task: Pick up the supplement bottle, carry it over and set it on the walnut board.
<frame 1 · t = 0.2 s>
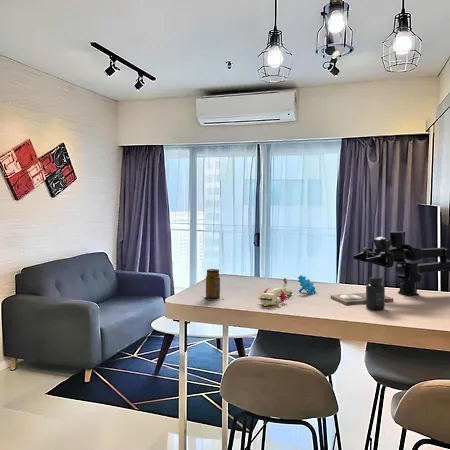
hand: (359, 258, 184), 17 cm above the table, tool horizontal, fingers open, 9 cm apart
blue piece: (307, 293, 196), on the table
cat figure: (275, 301, 181), on the table
supplement bottle: (374, 309, 168), on the table
walnut board: (361, 299, 182), on the table
condiment: (213, 298, 185), on the table
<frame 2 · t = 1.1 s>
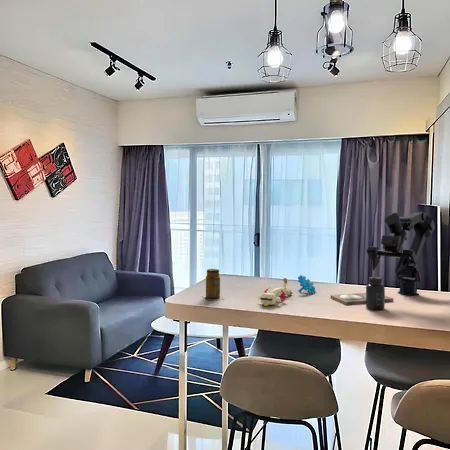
hand: (384, 271, 173), 14 cm above the table, tool tilted 45°, fingers open, 9 cm apart
nothing on the table moved.
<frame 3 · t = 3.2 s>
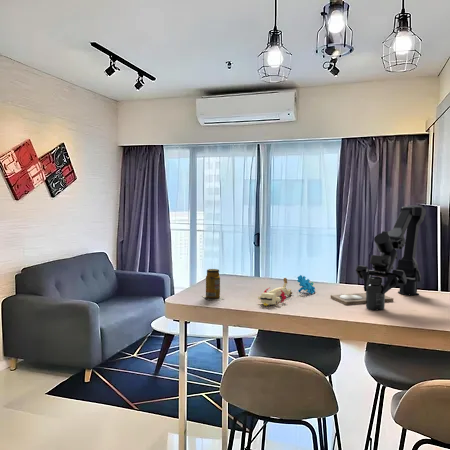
hand: (373, 292, 167), 7 cm above the table, tool tilted 45°, fingers closed on supplement bottle, 7 cm apart
supplement bottle: (374, 309, 168), on the table, touching gripper
everything else where it was.
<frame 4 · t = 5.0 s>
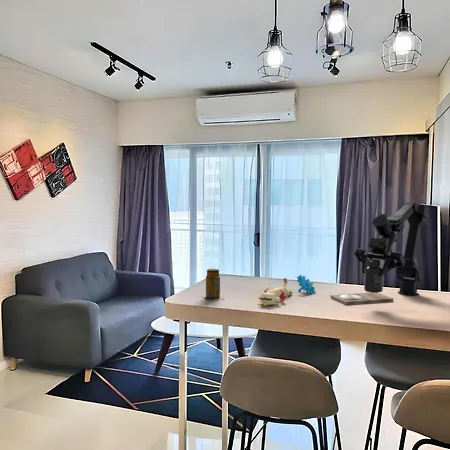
hand: (371, 274, 167), 13 cm above the table, tool tilted 45°, fingers closed on supplement bottle, 7 cm apart
supplement bottle: (373, 291, 169), point 6 cm above the table, touching gripper
everything else where it was.
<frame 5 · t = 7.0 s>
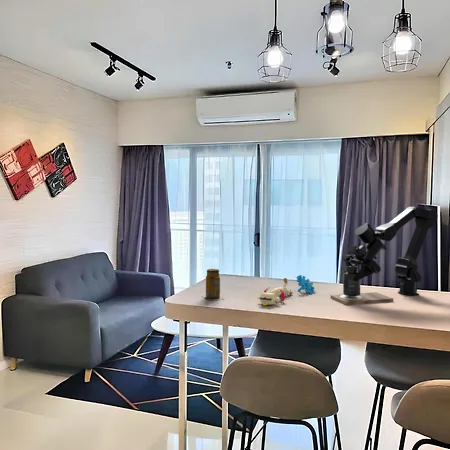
hand: (348, 279, 180), 9 cm above the table, tool tilted 45°, fingers closed on supplement bottle, 7 cm apart
supplement bottle: (351, 295, 181), point 2 cm above the table, touching gripper
everything else where it was.
when the fingers open (9 cm above the table, at t = 7.4 s): supplement bottle stays where it is, resting on walnut board.
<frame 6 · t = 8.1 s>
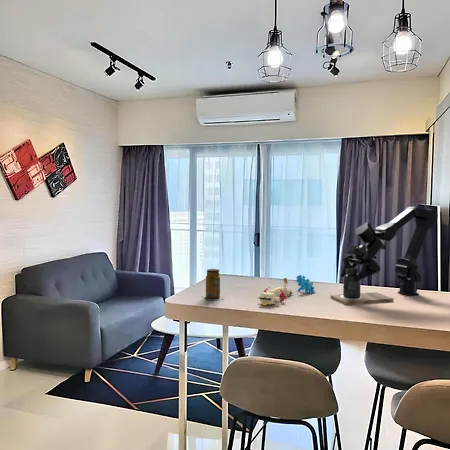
hand: (348, 278, 180), 9 cm above the table, tool tilted 45°, fingers open, 9 cm apart
supplement bottle: (351, 297, 181), point 1 cm above the table, touching walnut board
everything else where it was.
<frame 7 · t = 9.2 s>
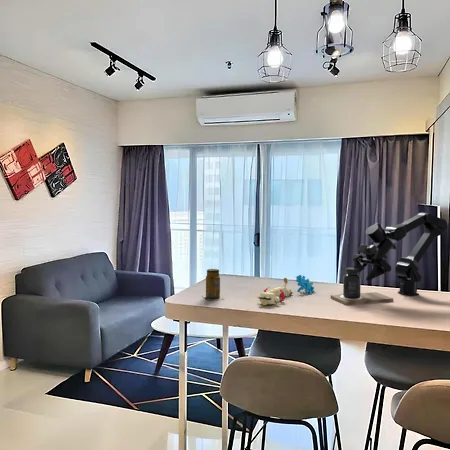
hand: (359, 278, 182), 9 cm above the table, tool tilted 45°, fingers open, 9 cm apart
nothing on the table moved.
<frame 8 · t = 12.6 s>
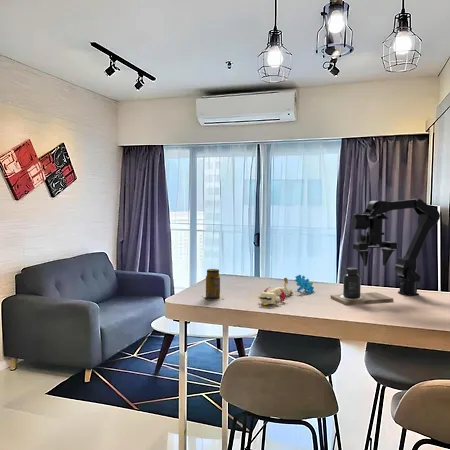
hand: (374, 265, 190), 13 cm above the table, tool pointing down, fingers open, 9 cm apart
at the end: supplement bottle inside the target area on the walnut board (0.4 cm from its centre), point 1.2 cm above the walnut board's base; supplement bottle tilted 0°; the gripper is holding nothing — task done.
